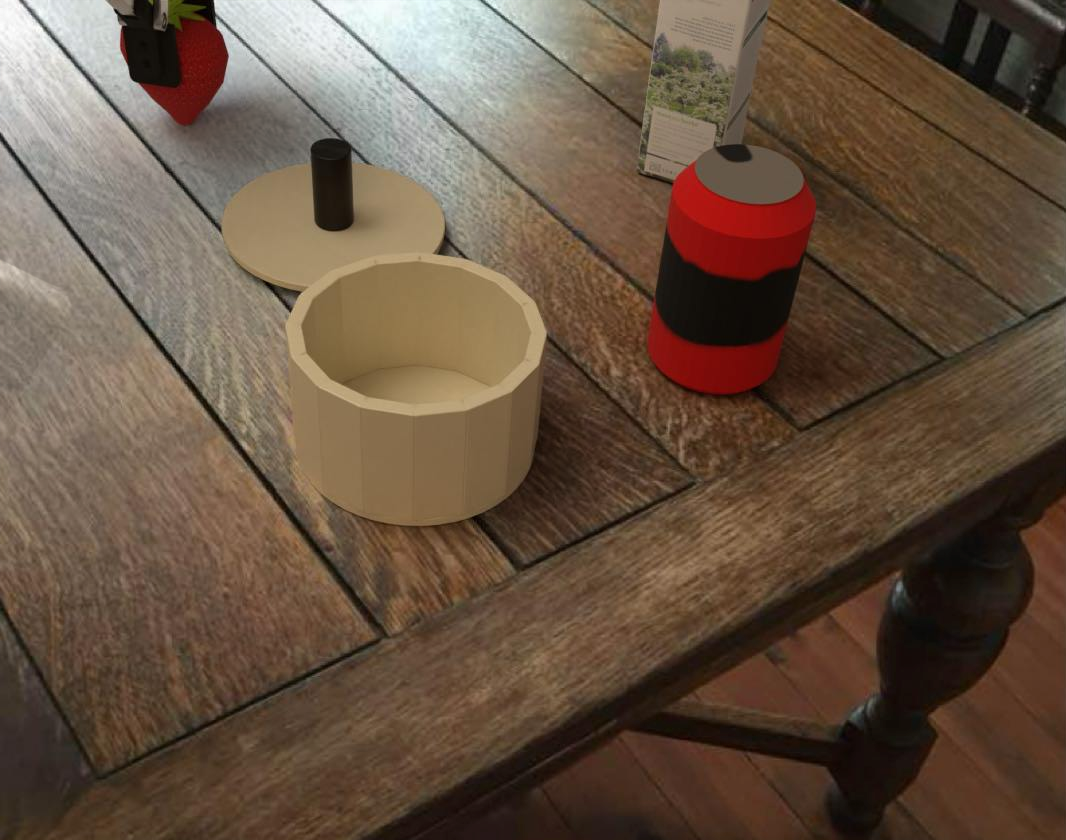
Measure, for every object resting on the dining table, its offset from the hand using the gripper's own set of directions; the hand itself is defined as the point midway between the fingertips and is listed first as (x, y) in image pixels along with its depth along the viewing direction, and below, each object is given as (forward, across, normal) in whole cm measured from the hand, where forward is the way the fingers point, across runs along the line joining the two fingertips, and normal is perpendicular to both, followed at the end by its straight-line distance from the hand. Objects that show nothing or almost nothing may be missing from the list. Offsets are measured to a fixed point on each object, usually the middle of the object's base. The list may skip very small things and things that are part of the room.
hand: (174, 54), depth 88 cm
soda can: (+5, -16, -37) cm, 41 cm away
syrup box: (+5, +4, -34) cm, 35 cm away
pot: (+5, -27, -22) cm, 35 cm away
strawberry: (+5, 0, 0) cm, 5 cm away
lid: (+4, -10, -13) cm, 17 cm away
